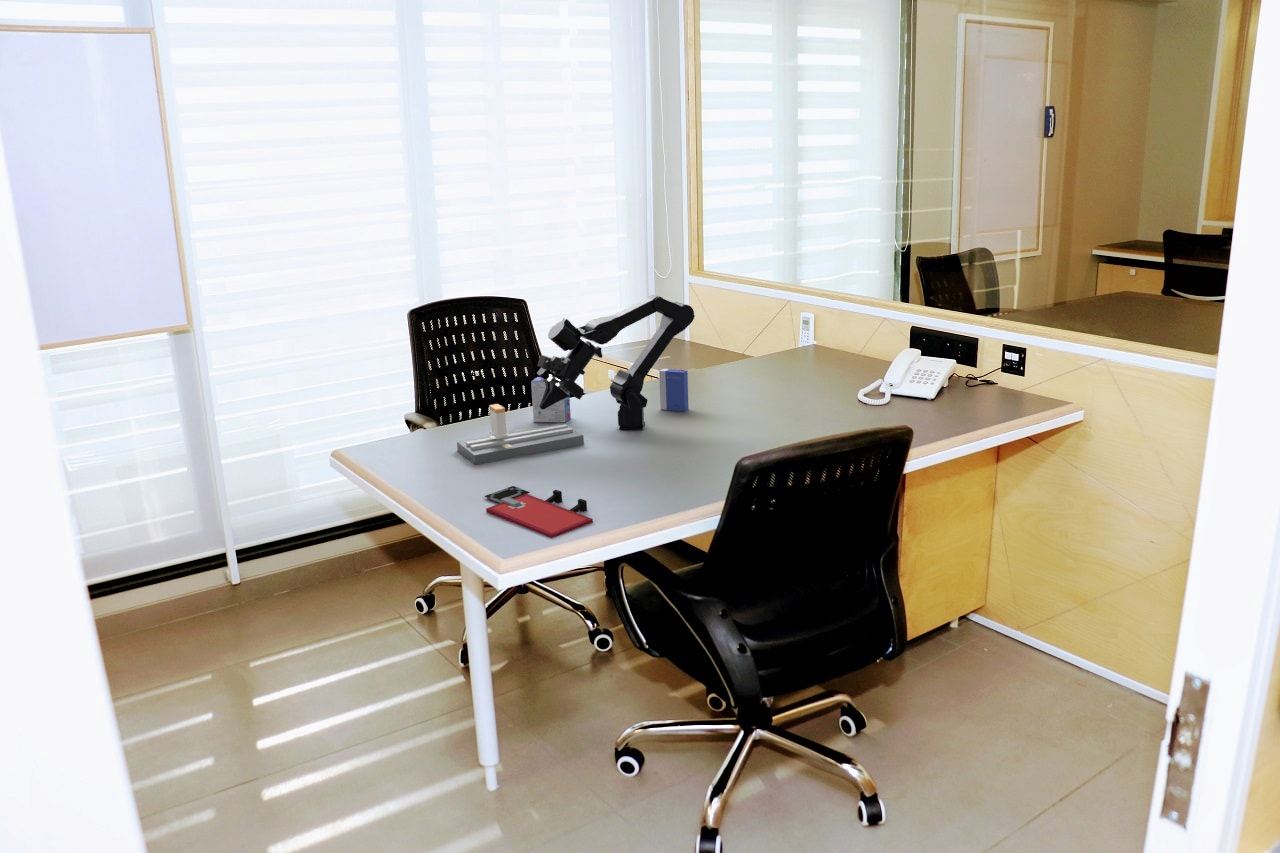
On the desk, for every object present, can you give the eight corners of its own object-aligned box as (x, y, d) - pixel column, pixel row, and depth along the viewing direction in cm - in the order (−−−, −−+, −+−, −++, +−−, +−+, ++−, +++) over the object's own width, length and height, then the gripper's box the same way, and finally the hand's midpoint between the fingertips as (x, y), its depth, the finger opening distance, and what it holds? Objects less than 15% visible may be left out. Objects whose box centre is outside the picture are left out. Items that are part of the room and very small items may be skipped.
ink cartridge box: (571, 417, 299) (568, 368, 294) (566, 423, 293) (563, 373, 289) (538, 417, 301) (535, 368, 296) (533, 422, 295) (529, 372, 291)
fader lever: (501, 437, 273) (498, 403, 270) (509, 442, 268) (506, 408, 265) (490, 439, 271) (487, 405, 269) (497, 444, 266) (495, 410, 264)
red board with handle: (519, 487, 243) (466, 506, 233) (518, 476, 242) (465, 494, 232) (606, 519, 222) (552, 541, 212) (605, 507, 221) (551, 529, 212)
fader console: (562, 431, 285) (561, 420, 284) (583, 444, 273) (583, 432, 272) (457, 450, 272) (456, 438, 271) (475, 464, 260) (474, 452, 259)
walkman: (688, 409, 302) (687, 369, 299) (684, 411, 300) (683, 371, 297) (664, 407, 306) (662, 367, 302) (660, 409, 303) (658, 369, 300)
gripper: (540, 337, 278) (506, 384, 277) (569, 349, 262) (532, 398, 261) (570, 361, 284) (535, 407, 282) (599, 374, 268) (563, 423, 266)
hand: (541, 408), depth 273 cm, fingers closed
